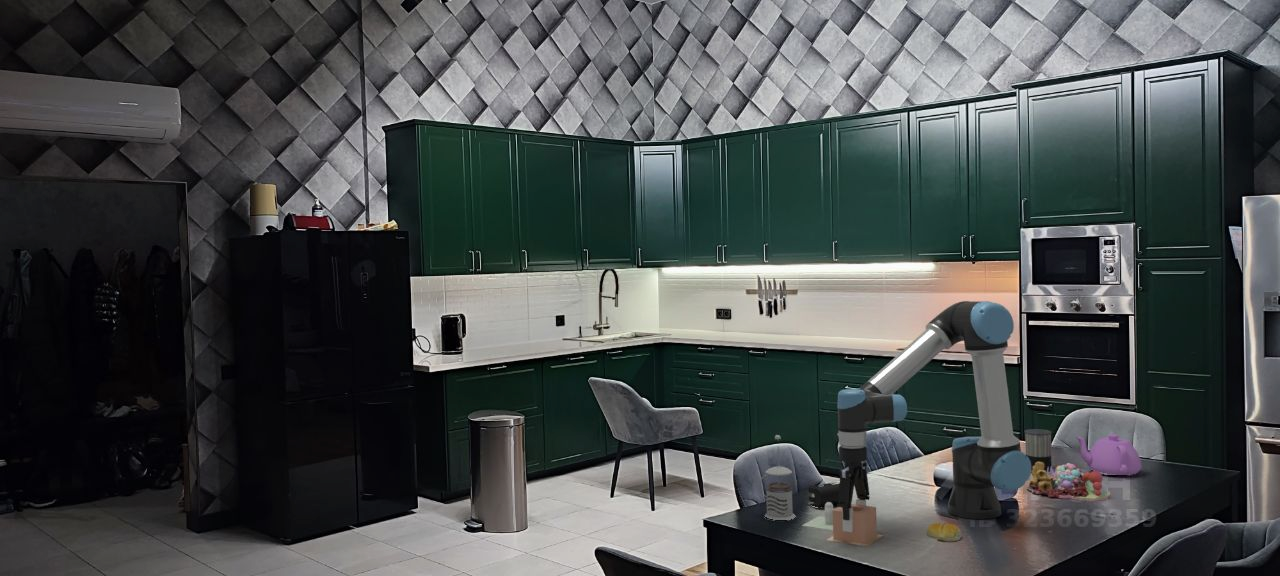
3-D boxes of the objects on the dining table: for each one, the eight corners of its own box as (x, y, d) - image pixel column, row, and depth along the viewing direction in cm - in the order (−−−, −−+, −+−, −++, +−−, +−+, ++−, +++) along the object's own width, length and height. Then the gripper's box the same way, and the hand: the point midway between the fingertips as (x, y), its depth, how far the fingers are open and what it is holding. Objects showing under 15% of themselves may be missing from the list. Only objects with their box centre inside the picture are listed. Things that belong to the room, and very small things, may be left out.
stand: (884, 537, 254) (883, 517, 254) (867, 548, 244) (867, 527, 244) (843, 531, 261) (842, 511, 261) (826, 542, 251) (825, 521, 251)
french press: (788, 522, 273) (786, 438, 273) (753, 517, 279) (750, 436, 279) (801, 514, 281) (798, 433, 281) (766, 510, 287) (764, 431, 287)
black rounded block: (821, 510, 285) (821, 489, 285) (807, 506, 292) (807, 484, 292) (846, 506, 290) (846, 485, 290) (832, 501, 296) (832, 480, 296)
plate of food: (1029, 499, 293) (1028, 470, 293) (1023, 483, 316) (1022, 456, 316) (1115, 502, 285) (1115, 473, 285) (1103, 486, 308) (1103, 458, 308)
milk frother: (1057, 474, 326) (1056, 432, 326) (1012, 475, 326) (1011, 434, 326) (1040, 466, 340) (1039, 426, 340) (998, 467, 340) (996, 427, 340)
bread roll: (931, 532, 258) (930, 518, 258) (963, 536, 254) (963, 522, 254) (922, 539, 251) (922, 525, 251) (956, 544, 247) (955, 529, 247)
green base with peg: (856, 523, 269) (856, 500, 269) (840, 533, 260) (839, 509, 259) (819, 518, 276) (818, 495, 276) (801, 527, 267) (801, 504, 266)
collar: (876, 535, 254) (876, 507, 254) (864, 543, 247) (863, 514, 246) (846, 531, 259) (845, 503, 259) (833, 539, 252) (832, 510, 252)
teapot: (1065, 467, 338) (1064, 429, 338) (1127, 467, 335) (1126, 429, 335) (1085, 480, 316) (1084, 440, 316) (1152, 480, 313) (1151, 440, 313)
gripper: (855, 438, 264) (857, 516, 264) (823, 451, 246) (825, 534, 246) (880, 440, 259) (882, 519, 259) (850, 453, 242) (852, 538, 242)
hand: (854, 527), depth 253 cm, fingers closed on collar, 9 cm apart
